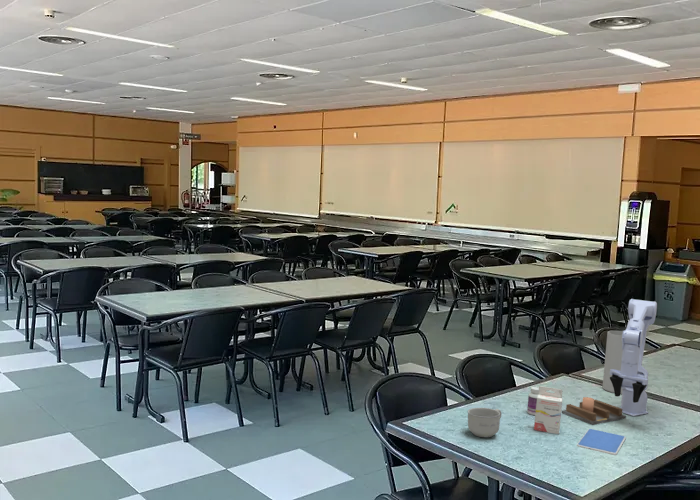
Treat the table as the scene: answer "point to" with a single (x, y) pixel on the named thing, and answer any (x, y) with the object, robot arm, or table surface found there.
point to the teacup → (484, 421)
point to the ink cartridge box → (548, 410)
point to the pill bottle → (532, 400)
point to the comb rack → (595, 413)
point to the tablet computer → (601, 441)
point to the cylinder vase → (612, 358)
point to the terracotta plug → (588, 404)
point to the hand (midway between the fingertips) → (626, 399)
